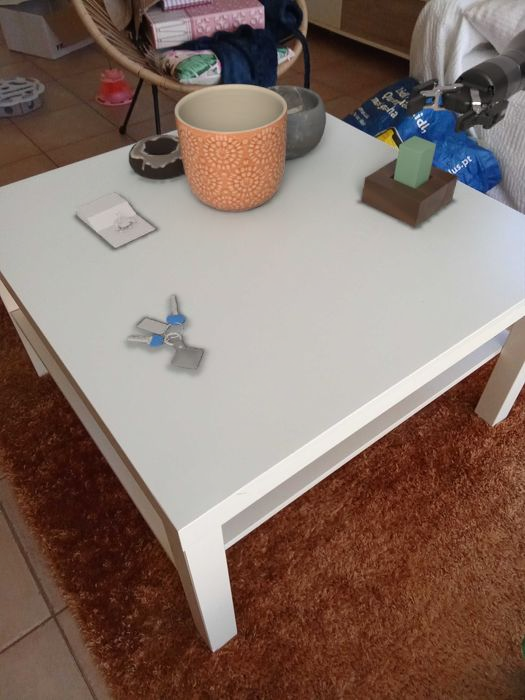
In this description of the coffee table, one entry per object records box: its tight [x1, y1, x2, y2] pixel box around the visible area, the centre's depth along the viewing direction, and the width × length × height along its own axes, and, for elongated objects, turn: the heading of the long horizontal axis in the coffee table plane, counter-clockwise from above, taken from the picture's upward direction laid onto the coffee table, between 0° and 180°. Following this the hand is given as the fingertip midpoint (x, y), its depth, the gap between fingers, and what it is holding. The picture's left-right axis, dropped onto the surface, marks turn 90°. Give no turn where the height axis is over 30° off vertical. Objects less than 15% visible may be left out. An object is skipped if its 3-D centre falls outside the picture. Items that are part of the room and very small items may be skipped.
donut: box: [128, 134, 185, 180], centre depth 102 cm, size 12×12×4 cm
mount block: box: [361, 157, 459, 228], centre depth 92 cm, size 11×11×4 cm
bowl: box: [265, 84, 327, 160], centre depth 102 cm, size 15×15×10 cm
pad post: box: [394, 135, 437, 189], centre depth 90 cm, size 4×4×10 cm
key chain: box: [126, 294, 204, 370], centre depth 72 cm, size 14×8×1 cm, turn 24°
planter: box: [174, 83, 287, 213], centre depth 90 cm, size 17×17×15 cm
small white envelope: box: [75, 191, 156, 249], centre depth 90 cm, size 7×12×2 cm, turn 41°
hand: (432, 117), depth 86 cm, fingers open, 8 cm apart
